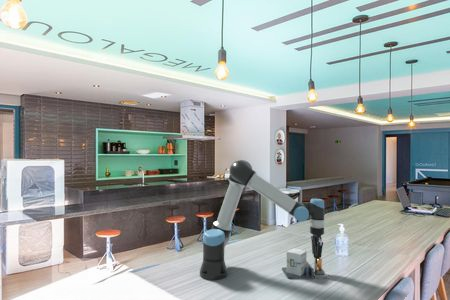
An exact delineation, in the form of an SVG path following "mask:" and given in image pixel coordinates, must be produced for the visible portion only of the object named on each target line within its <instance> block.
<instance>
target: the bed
mask: <svg viewBox="0 0 450 300" xmlns="http://www.w3.org/2000/svg"><path fill="white" fill-rule="evenodd" d="M281 270H282V272H283V273H284V275H285V277H286V278H287V279H288V280H294V279H295V280H297V279H301V280H304V279H306V280H307V279H315V278H314V274H315V269H314V267H312V265H311V264H310V263H309V262H308V261H307V260H306V272H305V273H304V274H302V275H301V276H299V275H295V274H291V273H287V266H286V267H281Z"/></svg>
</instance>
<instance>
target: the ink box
mask: <svg viewBox="0 0 450 300" xmlns="http://www.w3.org/2000/svg"><path fill="white" fill-rule="evenodd" d="M306 261H307V250H303V249H298V248H294V247H293V248H291V249H289V250H287V251H286V267H287V273H291V274H295V275H299V276H301V275H302V274H304V273H305V272H306Z"/></svg>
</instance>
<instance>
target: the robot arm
mask: <svg viewBox="0 0 450 300" xmlns="http://www.w3.org/2000/svg"><path fill="white" fill-rule="evenodd" d="M227 180H228V182H229V185H228V187H227V190H226V193H225V195H224V198H223V202H222V205H221V207H220V210H219V212H218V217H217V220H216V221H213V223H212V225H211V229H209V230H208V229H207V230H206V231H205V232H204V233H203V236H202V242H203V243H202V244H203V247H202V263H201V265H200V268H199V277H201V278H202V279H204V280H211V281H218V280H222V279H225V278H227V276H228V269H227V265H226V261H225V248H226V245H227V244H228V243H229V241H230V237H231V233H232V230H233V229H232V226H231V225H232V221H233V220H234V217H235V213H236V211H237V207H238V204H239V201H240V198H241V195H242V193H243V191H244V188H245V187H246V188H250V189H252V190H253V191H255V192H256V193H258V194H260V195H261V196H263V197H264V198H265V199H267V200H268V201H270V202H271V203H273V204H275V205H276V206H278V207H279V208H280V209H282V210H283V211H285V212H286V213H288V214H289V215H290V216H292V217H293V218H294V219H295V220H297V221H298V222H306V221H307V220H308V219H309V218H310V220H309V223H310V224H309V225H310V227H309V233H310V234H312V235H311V236H310V239H311V251H312V252H311V253H312V255H313V269H314V270H315V269H317V258H321V259H322V255H323V254H322V253H323V246H324V242H323V241H322V236H323V235H324V234H325V201H324V200H323V199H322V198H311V199H310V201H308V202H305V201H297V200H295V199H293V198H292V197H291V196H289V195H287V194H286V193H285V192H283V191H281V190H280V189H278V188H277V187H275V186H274V185H273V184H271V183H269V182H268V181H266V180H265V179H263V178H262V177H261V176H259V175H258V174H257V171H255V170H254V169H253V167H252V165H251V163H249V161H247V160H243V159H240V160H237V161H236V160H235V161H234V162H233V163H232V164H231V165H230V168H229V176H228V179H227Z"/></svg>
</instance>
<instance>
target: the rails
mask: <svg viewBox="0 0 450 300" xmlns="http://www.w3.org/2000/svg"><path fill="white" fill-rule="evenodd" d="M314 279H315V280H317V279H327V280H329V275H328V274H327V273H326V272H324V275H315V273H314Z"/></svg>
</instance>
